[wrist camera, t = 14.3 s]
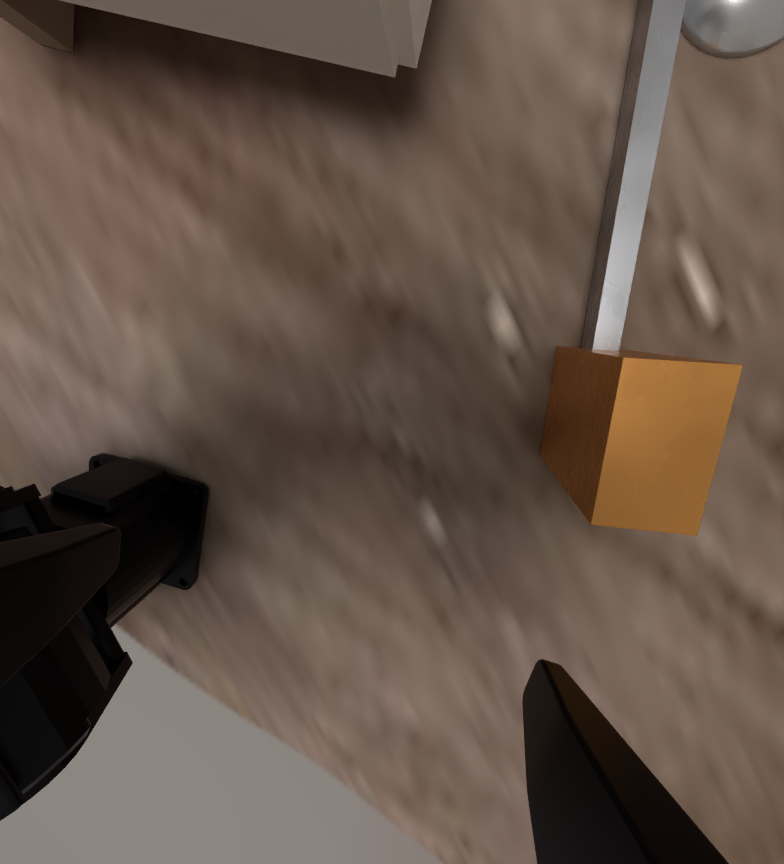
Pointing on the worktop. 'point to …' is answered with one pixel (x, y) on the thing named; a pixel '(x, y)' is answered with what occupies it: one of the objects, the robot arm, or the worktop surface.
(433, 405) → the worktop surface
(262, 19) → the gray overhanging block
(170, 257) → the worktop surface
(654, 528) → the blade tool
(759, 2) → the grey flat round piece
